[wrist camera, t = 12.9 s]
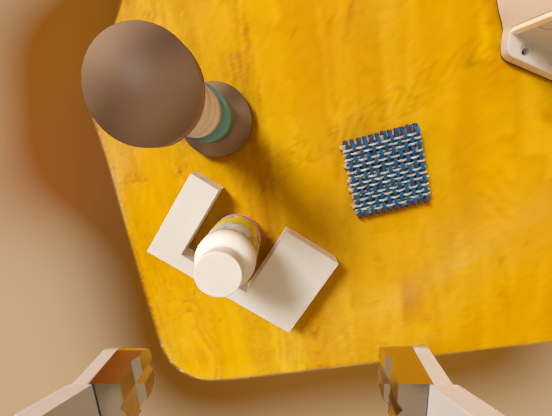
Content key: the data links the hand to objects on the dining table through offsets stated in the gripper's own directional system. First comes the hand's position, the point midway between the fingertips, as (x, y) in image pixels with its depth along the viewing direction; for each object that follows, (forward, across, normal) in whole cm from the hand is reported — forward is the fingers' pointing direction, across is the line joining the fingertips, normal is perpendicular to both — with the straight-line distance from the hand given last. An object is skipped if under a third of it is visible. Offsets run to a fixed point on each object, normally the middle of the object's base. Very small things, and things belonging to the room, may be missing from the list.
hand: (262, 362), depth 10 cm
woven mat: (+30, -13, -3) cm, 33 cm away
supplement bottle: (+29, +7, +5) cm, 30 cm away
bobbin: (+29, +8, -11) cm, 32 cm away
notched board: (+28, +6, +7) cm, 30 cm away
